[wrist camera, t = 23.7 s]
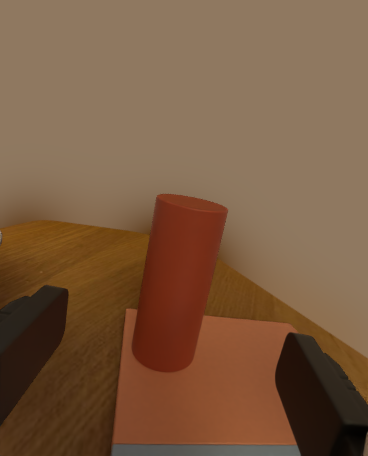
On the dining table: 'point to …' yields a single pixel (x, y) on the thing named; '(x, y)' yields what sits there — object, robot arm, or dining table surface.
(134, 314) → the board
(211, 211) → the rust pin
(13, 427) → the dining table surface
